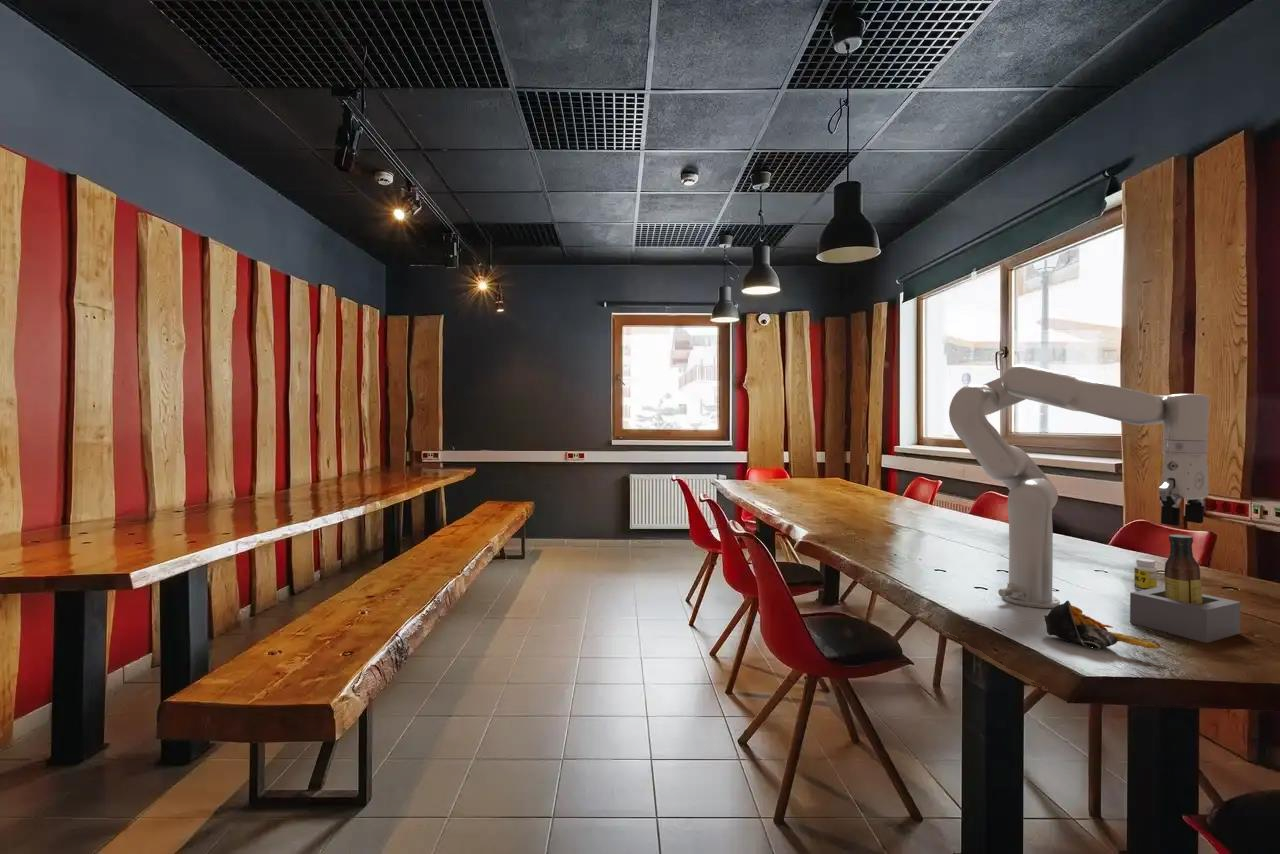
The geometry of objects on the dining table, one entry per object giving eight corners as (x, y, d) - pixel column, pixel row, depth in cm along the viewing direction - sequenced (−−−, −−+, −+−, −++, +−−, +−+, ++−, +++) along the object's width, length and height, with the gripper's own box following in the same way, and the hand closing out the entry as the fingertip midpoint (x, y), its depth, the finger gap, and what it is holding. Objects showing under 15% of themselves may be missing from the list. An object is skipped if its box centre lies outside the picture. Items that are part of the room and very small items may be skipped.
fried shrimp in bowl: (1042, 607, 135) (1140, 595, 125) (1059, 659, 130) (1162, 650, 120) (1034, 601, 129) (1137, 587, 119) (1052, 655, 124) (1160, 645, 114)
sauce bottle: (1195, 620, 137) (1195, 534, 137) (1208, 629, 131) (1208, 539, 131) (1159, 617, 140) (1159, 532, 140) (1170, 625, 134) (1170, 537, 134)
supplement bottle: (1129, 587, 168) (1129, 558, 168) (1145, 587, 168) (1145, 557, 168) (1145, 592, 163) (1145, 562, 163) (1161, 592, 164) (1161, 561, 164)
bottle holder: (1206, 643, 126) (1206, 610, 126) (1130, 622, 139) (1130, 592, 139) (1240, 633, 132) (1240, 602, 132) (1163, 614, 145) (1164, 585, 144)
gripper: (1184, 449, 128) (1181, 529, 128) (1226, 449, 135) (1223, 524, 135) (1143, 447, 135) (1140, 523, 135) (1185, 447, 142) (1182, 518, 142)
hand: (1182, 523), depth 135 cm, fingers open, 9 cm apart
